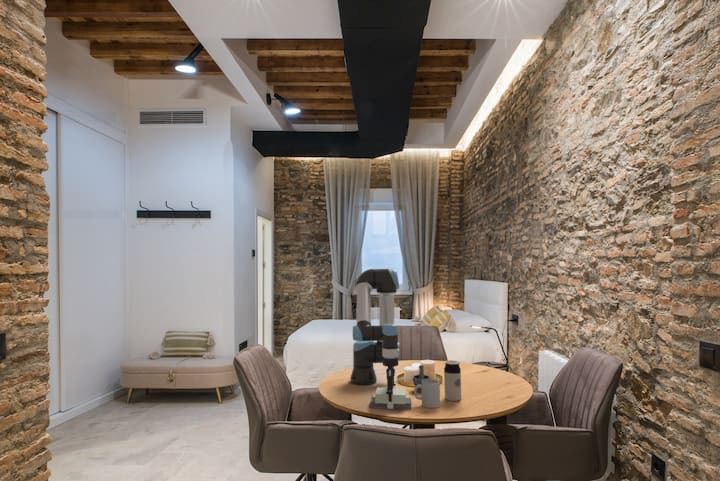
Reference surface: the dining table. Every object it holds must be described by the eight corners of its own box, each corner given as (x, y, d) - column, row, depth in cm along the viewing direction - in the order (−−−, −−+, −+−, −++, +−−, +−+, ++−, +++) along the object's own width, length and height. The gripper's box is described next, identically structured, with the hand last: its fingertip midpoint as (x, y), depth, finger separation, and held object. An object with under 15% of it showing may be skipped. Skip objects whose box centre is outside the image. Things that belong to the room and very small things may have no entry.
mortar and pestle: (431, 393, 210) (430, 369, 211) (412, 392, 211) (412, 369, 212) (430, 387, 221) (429, 364, 222) (413, 386, 223) (412, 364, 223)
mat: (371, 401, 197) (371, 396, 197) (411, 403, 194) (411, 397, 195) (370, 407, 189) (370, 401, 189) (411, 408, 186) (411, 403, 187)
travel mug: (442, 397, 203) (441, 360, 205) (456, 395, 206) (455, 359, 207) (449, 402, 196) (448, 364, 197) (464, 400, 198) (463, 362, 199)
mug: (438, 402, 196) (437, 379, 196) (441, 408, 187) (441, 383, 188) (413, 402, 196) (413, 379, 196) (415, 408, 187) (415, 384, 188)
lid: (377, 395, 198) (377, 387, 198) (406, 396, 196) (405, 388, 197) (375, 403, 187) (375, 394, 188) (405, 404, 185) (405, 395, 186)
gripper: (397, 362, 181) (398, 413, 180) (399, 352, 204) (399, 396, 203) (380, 362, 182) (381, 412, 181) (384, 351, 205) (384, 396, 204)
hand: (391, 404), depth 192 cm, fingers closed on lid, 11 cm apart
